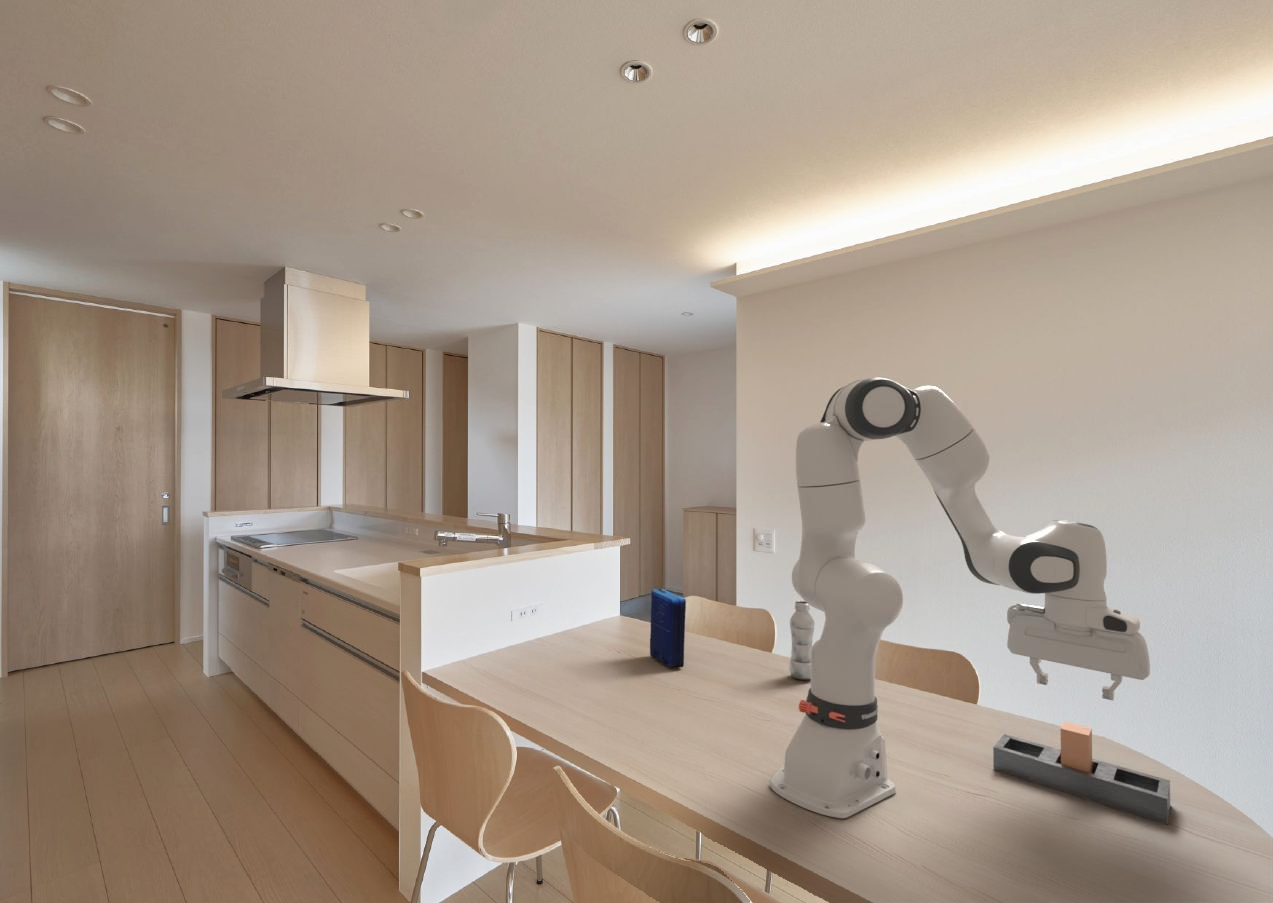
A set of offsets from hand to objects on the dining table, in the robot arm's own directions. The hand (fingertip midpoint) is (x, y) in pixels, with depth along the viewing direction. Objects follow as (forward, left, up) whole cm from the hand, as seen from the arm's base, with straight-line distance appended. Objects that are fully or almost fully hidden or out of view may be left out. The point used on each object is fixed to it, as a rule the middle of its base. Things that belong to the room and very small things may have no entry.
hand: (1074, 690), depth 104 cm
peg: (0, 0, -17) cm, 17 cm away
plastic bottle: (+14, +61, -17) cm, 65 cm away
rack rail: (0, 0, -17) cm, 17 cm away
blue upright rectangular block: (-3, +94, -17) cm, 95 cm away
